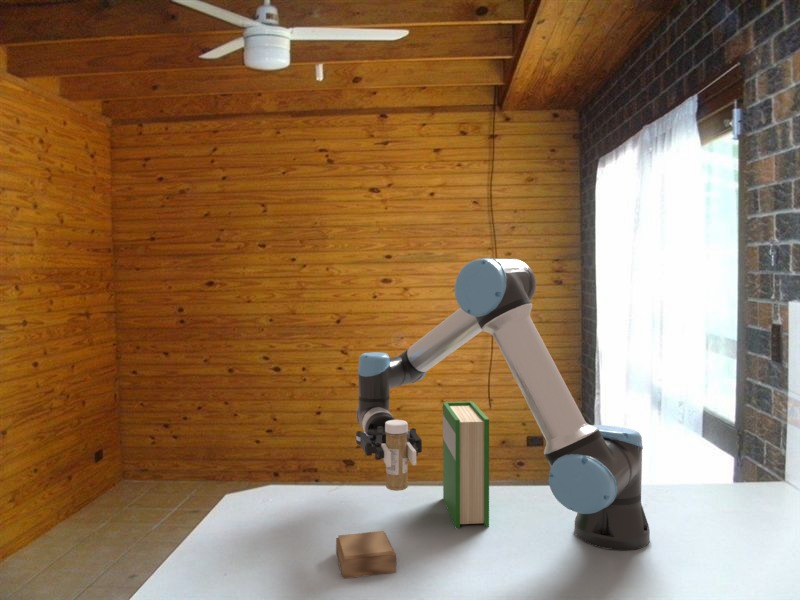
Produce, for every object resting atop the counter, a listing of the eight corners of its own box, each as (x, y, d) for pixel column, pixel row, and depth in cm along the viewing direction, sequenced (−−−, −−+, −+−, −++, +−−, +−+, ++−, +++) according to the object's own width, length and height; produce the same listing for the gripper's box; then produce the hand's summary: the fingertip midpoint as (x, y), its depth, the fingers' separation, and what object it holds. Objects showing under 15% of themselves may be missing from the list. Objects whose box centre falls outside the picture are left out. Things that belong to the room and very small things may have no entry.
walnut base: (385, 548, 129) (385, 529, 129) (396, 572, 119) (395, 551, 119) (336, 554, 127) (336, 534, 126) (343, 578, 117) (342, 557, 117)
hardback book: (489, 527, 139) (489, 419, 138) (455, 528, 139) (455, 420, 137) (472, 497, 157) (472, 401, 155) (443, 498, 156) (442, 402, 155)
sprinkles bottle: (412, 488, 127) (412, 422, 126) (392, 493, 125) (392, 425, 124) (400, 481, 131) (399, 417, 130) (381, 486, 129) (380, 420, 128)
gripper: (417, 441, 147) (445, 475, 124) (343, 446, 144) (357, 481, 121) (417, 409, 147) (445, 437, 124) (343, 413, 143) (357, 442, 120)
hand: (401, 459), depth 122 cm, fingers closed on sprinkles bottle, 4 cm apart
